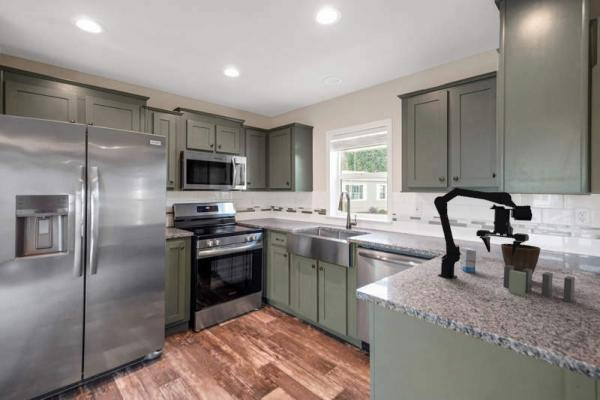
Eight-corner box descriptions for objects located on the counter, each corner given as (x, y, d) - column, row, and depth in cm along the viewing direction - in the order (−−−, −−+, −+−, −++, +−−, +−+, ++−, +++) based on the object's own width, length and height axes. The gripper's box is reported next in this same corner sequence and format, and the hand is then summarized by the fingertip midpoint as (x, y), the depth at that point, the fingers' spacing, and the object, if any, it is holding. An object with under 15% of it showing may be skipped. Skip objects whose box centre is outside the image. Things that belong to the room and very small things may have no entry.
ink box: (476, 273, 145) (476, 250, 145) (465, 272, 146) (466, 249, 146) (469, 268, 153) (470, 247, 153) (459, 268, 154) (460, 246, 154)
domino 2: (527, 292, 116) (528, 271, 116) (521, 291, 118) (522, 269, 118) (531, 290, 119) (532, 269, 119) (525, 289, 121) (526, 268, 121)
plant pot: (505, 281, 131) (507, 247, 131) (495, 273, 145) (496, 242, 145) (545, 285, 126) (546, 250, 126) (531, 276, 140) (532, 244, 140)
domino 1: (508, 288, 121) (509, 267, 121) (503, 286, 123) (504, 266, 123) (513, 286, 124) (513, 265, 124) (507, 285, 126) (508, 265, 126)
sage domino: (523, 296, 112) (524, 273, 112) (508, 292, 116) (509, 270, 116) (525, 295, 113) (526, 272, 113) (510, 291, 117) (511, 270, 117)
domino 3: (548, 297, 111) (549, 274, 111) (541, 296, 113) (542, 273, 112) (551, 295, 114) (552, 273, 114) (545, 293, 115) (546, 271, 115)
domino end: (570, 303, 106) (571, 279, 105) (563, 301, 107) (564, 277, 107) (573, 300, 109) (574, 277, 108) (566, 298, 110) (567, 275, 110)
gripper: (532, 220, 125) (531, 255, 126) (485, 217, 140) (484, 248, 140) (525, 221, 118) (524, 258, 119) (476, 218, 133) (475, 251, 133)
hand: (500, 254), depth 128 cm, fingers open, 9 cm apart
